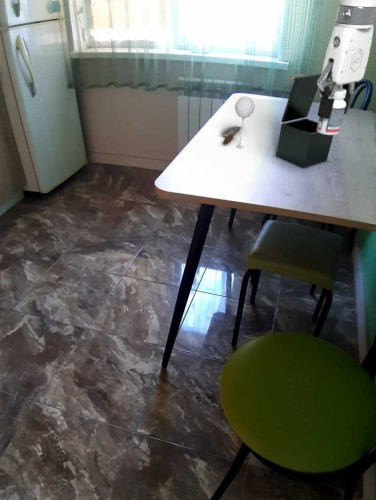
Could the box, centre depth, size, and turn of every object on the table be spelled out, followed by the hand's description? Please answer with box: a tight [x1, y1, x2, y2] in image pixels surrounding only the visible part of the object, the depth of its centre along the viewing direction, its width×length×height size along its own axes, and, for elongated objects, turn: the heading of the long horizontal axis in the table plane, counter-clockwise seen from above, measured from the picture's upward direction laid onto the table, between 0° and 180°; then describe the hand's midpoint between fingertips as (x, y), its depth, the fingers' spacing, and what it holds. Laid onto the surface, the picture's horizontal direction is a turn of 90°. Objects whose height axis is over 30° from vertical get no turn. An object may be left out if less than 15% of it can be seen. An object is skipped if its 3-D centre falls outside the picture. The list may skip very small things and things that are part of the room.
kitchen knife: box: [222, 126, 241, 145], centre depth 144 cm, size 21×2×5 cm
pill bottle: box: [317, 87, 346, 136], centre depth 95 cm, size 5×5×9 cm
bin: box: [275, 117, 334, 169], centre depth 127 cm, size 12×11×10 cm
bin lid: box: [280, 73, 322, 123], centre depth 123 cm, size 12×11×5 cm
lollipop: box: [234, 96, 255, 148], centre depth 131 cm, size 6×6×15 cm
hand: (331, 114), depth 95 cm, fingers closed on pill bottle, 5 cm apart
